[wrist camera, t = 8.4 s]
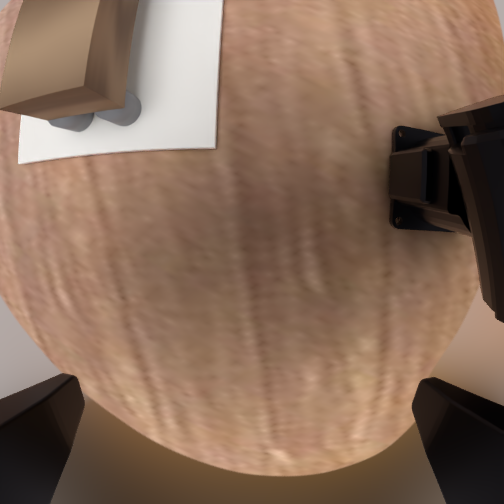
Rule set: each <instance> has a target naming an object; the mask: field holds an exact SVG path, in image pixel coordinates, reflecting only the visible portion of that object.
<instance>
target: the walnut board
mask: <svg viewBox="0 0 504 504" xmlns="http://www.w3.org/2000/svg"><path fill="white" fill-rule="evenodd" d="M138 4H139V0H23V3H22V6H21V9H20V12H19V15H18V18H17V21H16V24H15V28H14V31H13V35H12V38H11V42H10V46H9V50H8V54H7V58H6V63H5V67H4V72H3V77H2V83H1V89H0V110H3V111H8V112H12V113H17V114H21V115H26V116H30V117H34V118H39V119H43V120H47V121H49V120H53V119H58V118H63V117H69V116H74V115H80V114H86V113H92V112H99V111H106V110H113V109H121V108H124V107H125V95H126V85H127V75H128V66H129V58H130V51H131V44H132V37H133V31H134V25H135V19H136V14H137V9H138Z"/></svg>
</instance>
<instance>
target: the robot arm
mask: <svg viewBox="0 0 504 504" xmlns="http://www.w3.org/2000/svg"><path fill="white" fill-rule="evenodd" d="M437 118H438V121H439V123H440V126H441V127H443V129H444V131H445V134H446V135H443V134H439V133H435V132H430V131H426V130H421V129H416V128H411V127H406V126H397V127H395V128H394V129H393V153H392V154H391V155H390V175H389V196H390V197H391V206H390V224H391V226H392V227H394V228H397V229H410V230H427V231H443V232H458V233H461V234H464V235H467V236H471V237H472V240H473V245H474V250H475V255H476V261H477V267H478V274H479V280H480V288H481V292H482V296H483V300H484V301H485V302H486V303H487V305H488V306H489V307H490V308H491V309H492V310H493V311H494V312H495V318H496V319H497V320H499V321H501V322H503V323H504V95H501V96H497V97H493V98H490V99H487V100H484V101H481V102H478V103H475V104H472V105H469V106H466V107H463V108H460V109H457V110H454V111H451V112H449V113H446V114H443V115H440V116H438V117H437ZM399 130H400V131H401V132H402V133H403V136H402V137H400V135H399ZM397 217H399V219H400V221H399V223H398V224H396V218H397ZM84 406H85V401H84V397H83V394H82V391H81V387H80V384H79V381H78V379H77V377H76V376H74V375H70V374H65V373H62V374H59V375H57V376H55V377H52V378H50V379H48V380H45V381H43V382H41V383H38V384H36V385H34V386H31V387H29V388H26V389H24V390H22V391H19V392H17V393H14V394H12V395H10V396H7V397H5V398H2V399H0V504H50V503H51V500H52V497H53V495H54V492H55V489H56V487H57V484H58V482H59V479H60V477H61V474H62V472H63V469H64V467H65V464H66V462H67V460H68V457H69V455H70V452H71V449H72V446H73V443H74V439H75V436H76V433H77V429H78V426H79V423H80V420H81V417H82V413H83V410H84ZM412 411H413V414H414V417H415V421H416V423H417V427H418V430H419V433H420V436H421V440H422V443H423V446H424V449H425V452H426V455H427V457H428V460H429V462H430V465H431V467H432V469H433V472H434V474H435V477H436V479H437V482H438V484H439V486H440V489H441V492H442V494H443V497H444V499H445V502H446V504H504V406H502V405H500V404H497V403H495V402H492V401H490V400H488V399H485V398H483V397H480V396H478V395H476V394H473V393H471V392H468V391H466V390H464V389H461V388H459V387H457V386H454V385H452V384H450V383H447V382H445V381H443V380H441V379H438V378H436V377H431V378H425V379H422V380H421V381H420V383H419V385H418V388H417V391H416V394H415V397H414V399H413V402H412Z"/></svg>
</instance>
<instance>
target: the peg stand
mask: <svg viewBox="0 0 504 504" xmlns="http://www.w3.org/2000/svg"><path fill="white" fill-rule="evenodd" d="M223 4H224V0H139V4H138V9H137V14H136V19H135V25H134V31H133V37H132V44H131V51H130V58H129V66H128V75H127V85H126V95H125V107H124V108H121V109H113V110H106V111H99V112H92V113H86V114H80V115H74V116H69V117H63V118H58V119H53V120H49V121H47V120H43V119H39V118H34V117H30V116H26V115H21V124H20V136H19V154H18V164H29V163H35V162H41V161H48V160H56V159H63V158H71V157H80V156H89V155H99V154H110V153H123V152H137V151H155V150H181V149H216V137H217V109H218V86H219V66H220V48H221V32H222V18H223Z"/></svg>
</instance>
